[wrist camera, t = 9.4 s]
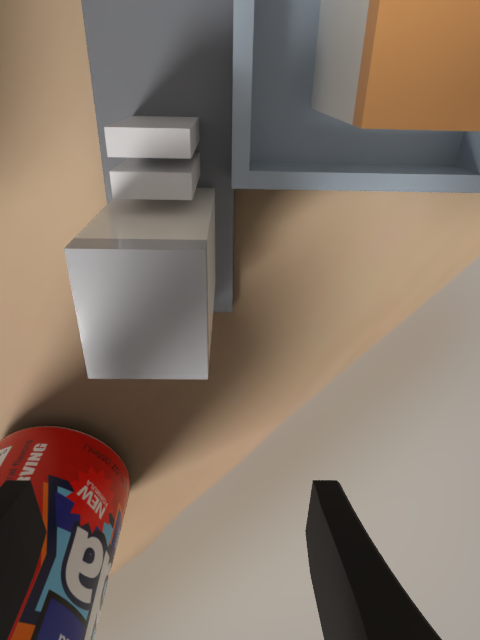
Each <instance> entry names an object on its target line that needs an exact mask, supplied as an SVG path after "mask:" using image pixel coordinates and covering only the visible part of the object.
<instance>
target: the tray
mask: <svg viewBox="0 0 480 640" xmlns="http://www.w3.org/2000/svg"><path fill="white" fill-rule="evenodd" d="M320 2H321V0H233V86H232V189H278V190H337V191H397V192H456V193H480V131H440V130H399V129H361V128H358V127H356V126H353V125H351V124H348V123H346V122H343V121H341V120H339V119H336V118H334V117H331V116H329V115H326V114H324V113H321V112H319V111H316V110H314V109H311V99H312V89H313V78H314V67H315V56H316V45H317V34H318V24H319V13H320Z"/></svg>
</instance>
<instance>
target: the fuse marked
mask: <svg viewBox="0 0 480 640" xmlns="http://www.w3.org/2000/svg"><path fill="white" fill-rule="evenodd" d="M311 109H314V110H316V111H319V112H321V113H324V114H326V115H329V116H331V117H334V118H336V119H339V120H341V121H343V122H346V123H348V124H351V125H353V126H356V127H358V128H361V129H399V130H440V131H480V0H321V2H320V13H319V24H318V34H317V45H316V56H315V67H314V78H313V89H312V99H311Z"/></svg>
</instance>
